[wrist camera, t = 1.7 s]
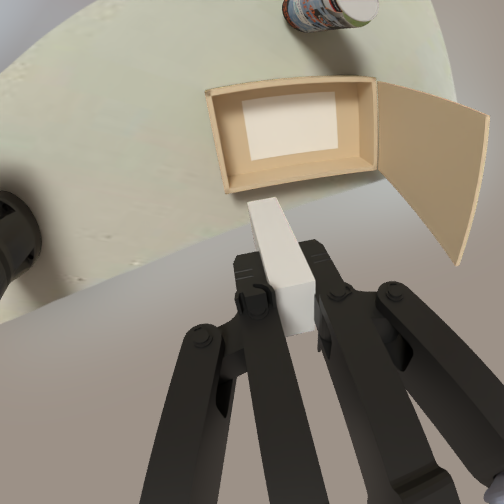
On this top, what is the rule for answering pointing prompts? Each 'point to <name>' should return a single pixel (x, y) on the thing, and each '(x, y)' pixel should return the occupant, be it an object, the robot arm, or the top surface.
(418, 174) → the lid
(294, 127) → the box
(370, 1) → the beverage can
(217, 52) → the top surface
